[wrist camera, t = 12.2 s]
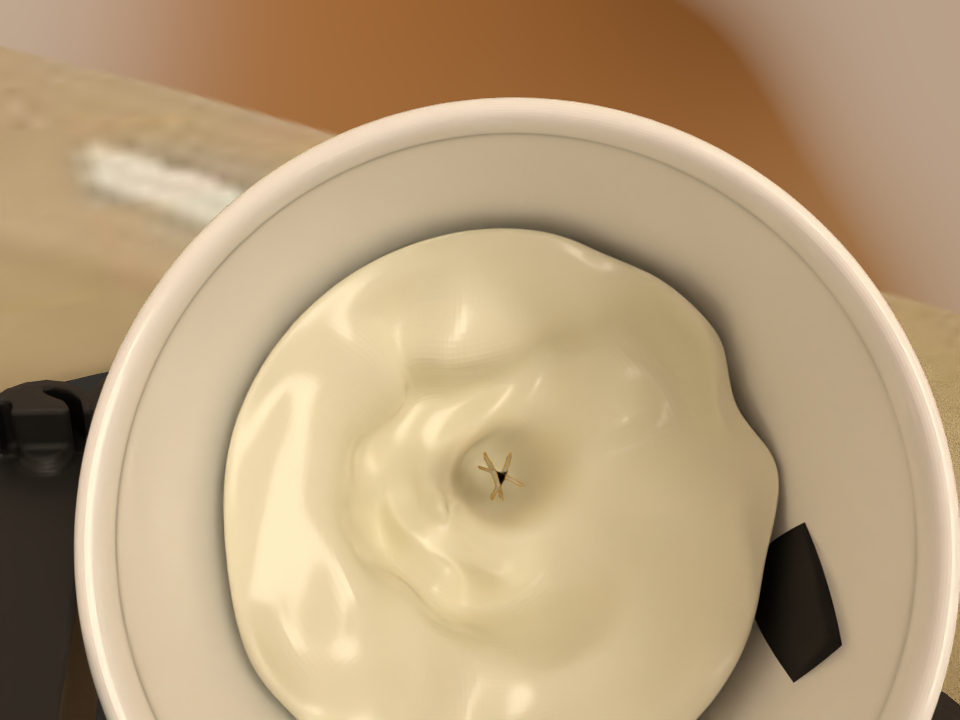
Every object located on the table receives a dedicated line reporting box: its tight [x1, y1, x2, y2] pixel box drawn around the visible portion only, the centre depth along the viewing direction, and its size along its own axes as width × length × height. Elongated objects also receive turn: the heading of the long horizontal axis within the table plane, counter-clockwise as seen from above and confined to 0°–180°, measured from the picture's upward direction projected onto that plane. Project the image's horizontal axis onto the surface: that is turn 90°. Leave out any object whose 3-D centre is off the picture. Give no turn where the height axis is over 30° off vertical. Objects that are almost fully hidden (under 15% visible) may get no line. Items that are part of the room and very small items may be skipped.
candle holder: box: [74, 98, 960, 720], centre depth 14 cm, size 10×10×12 cm
